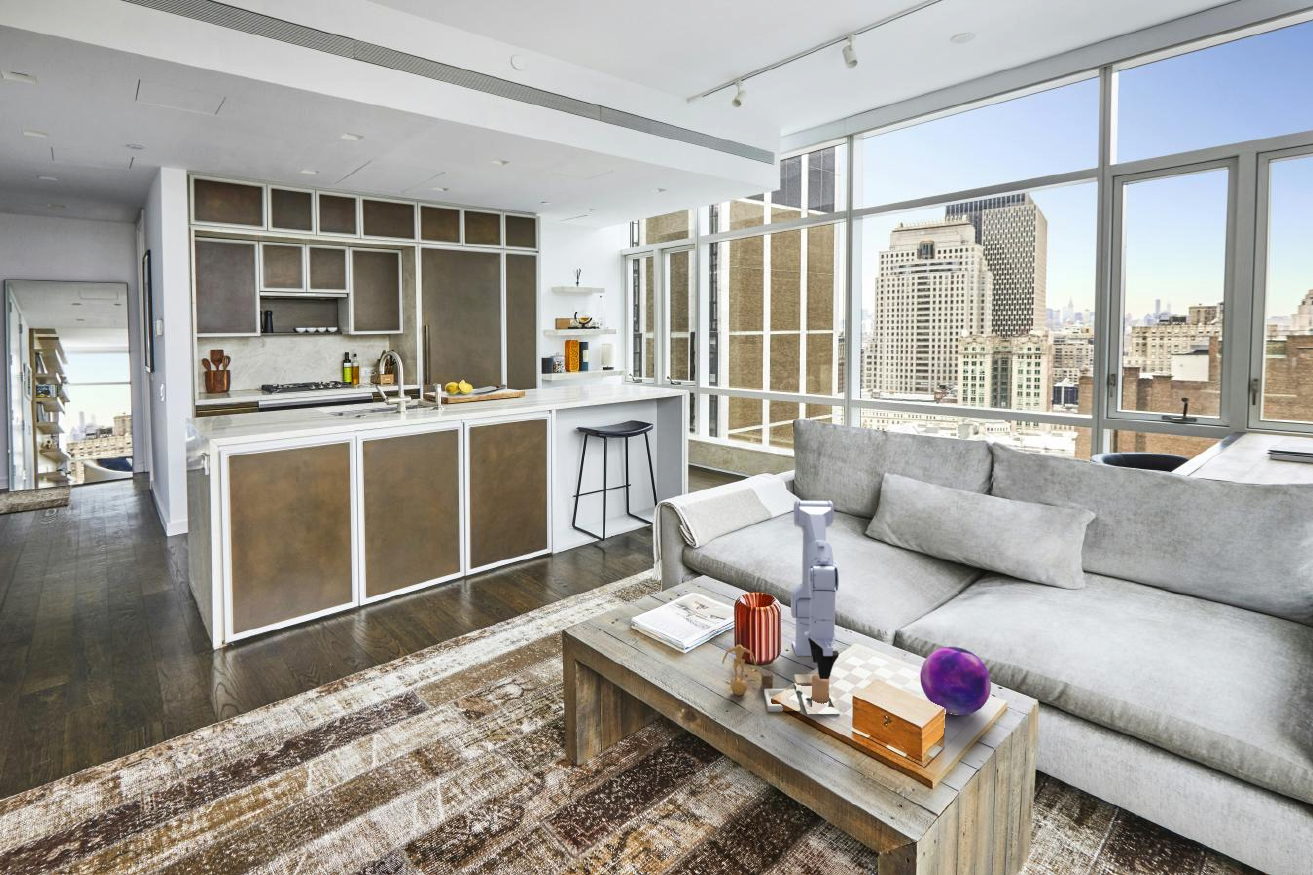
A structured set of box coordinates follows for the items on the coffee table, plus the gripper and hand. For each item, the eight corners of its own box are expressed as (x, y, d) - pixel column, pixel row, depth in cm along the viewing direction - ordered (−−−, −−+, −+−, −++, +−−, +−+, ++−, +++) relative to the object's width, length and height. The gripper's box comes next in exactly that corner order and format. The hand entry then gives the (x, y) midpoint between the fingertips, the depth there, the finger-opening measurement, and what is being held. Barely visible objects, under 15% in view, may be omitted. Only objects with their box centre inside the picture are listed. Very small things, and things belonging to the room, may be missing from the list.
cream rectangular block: (822, 683, 176) (822, 674, 176) (825, 692, 172) (825, 682, 172) (794, 683, 176) (794, 674, 176) (796, 692, 172) (796, 682, 172)
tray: (795, 694, 172) (795, 688, 171) (800, 711, 164) (800, 705, 164) (764, 694, 172) (764, 688, 172) (768, 711, 164) (768, 705, 164)
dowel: (826, 700, 168) (827, 674, 167) (830, 710, 164) (831, 682, 163) (809, 701, 169) (810, 674, 167) (813, 710, 165) (813, 682, 163)
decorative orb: (959, 736, 154) (963, 673, 151) (905, 704, 167) (908, 645, 164) (1003, 716, 161) (1007, 655, 158) (947, 686, 174) (951, 630, 171)
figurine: (721, 697, 171) (721, 651, 169) (722, 684, 177) (722, 640, 174) (756, 699, 170) (756, 653, 168) (756, 686, 175) (756, 641, 173)
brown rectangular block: (771, 685, 176) (771, 670, 175) (772, 690, 173) (772, 675, 173) (761, 685, 176) (761, 670, 175) (762, 690, 173) (762, 675, 173)
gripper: (799, 602, 170) (798, 655, 172) (810, 629, 155) (809, 686, 158) (828, 602, 170) (827, 655, 172) (842, 629, 155) (841, 686, 158)
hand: (820, 669), depth 165 cm, fingers open, 7 cm apart
